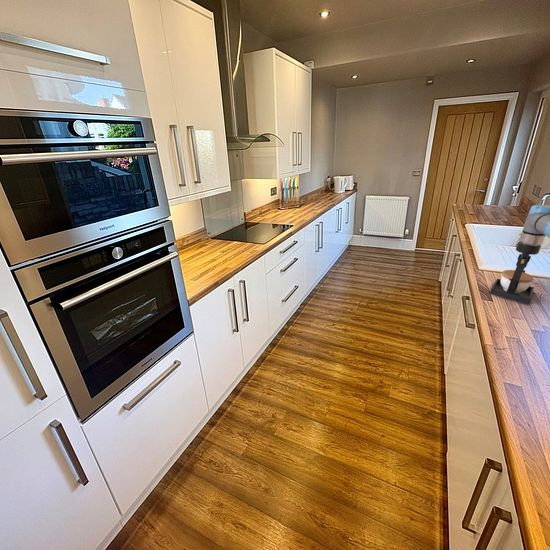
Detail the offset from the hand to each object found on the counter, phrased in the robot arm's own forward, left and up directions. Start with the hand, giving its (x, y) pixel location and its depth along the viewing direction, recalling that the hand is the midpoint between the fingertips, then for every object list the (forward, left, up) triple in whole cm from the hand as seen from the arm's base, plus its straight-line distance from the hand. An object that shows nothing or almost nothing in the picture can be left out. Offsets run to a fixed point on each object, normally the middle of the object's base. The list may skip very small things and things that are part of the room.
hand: (512, 289), depth 130 cm
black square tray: (0, 0, -2) cm, 2 cm away
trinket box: (0, 0, -1) cm, 1 cm away
